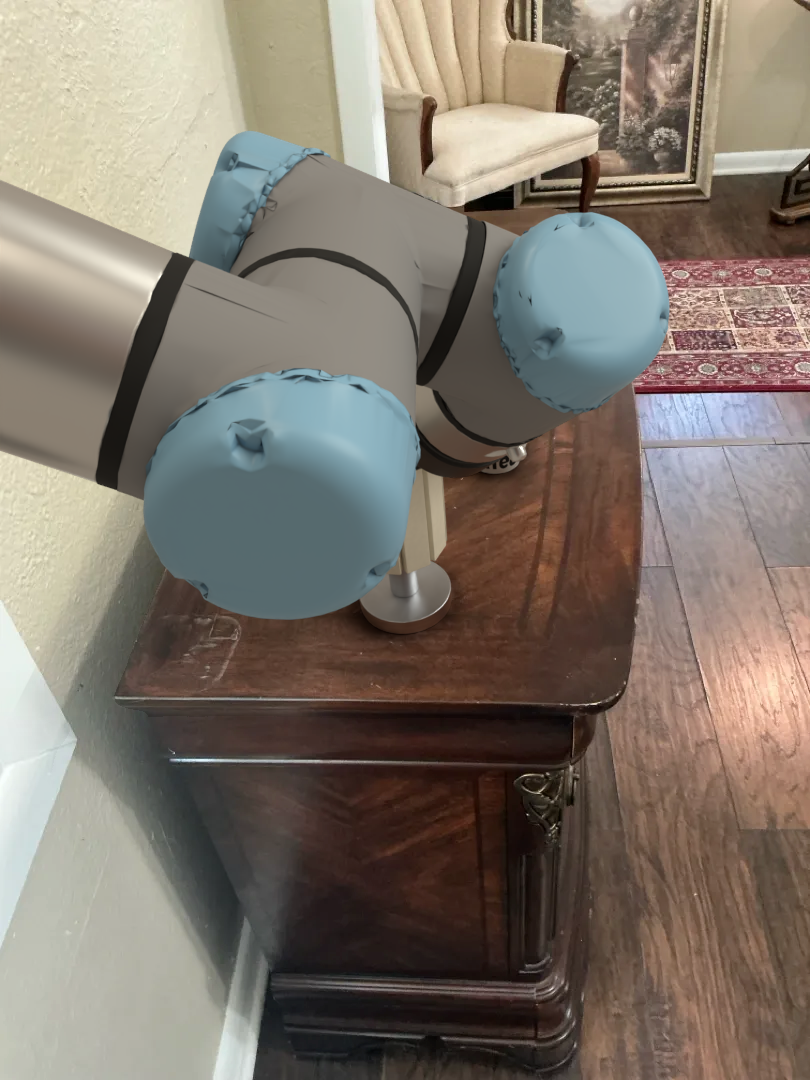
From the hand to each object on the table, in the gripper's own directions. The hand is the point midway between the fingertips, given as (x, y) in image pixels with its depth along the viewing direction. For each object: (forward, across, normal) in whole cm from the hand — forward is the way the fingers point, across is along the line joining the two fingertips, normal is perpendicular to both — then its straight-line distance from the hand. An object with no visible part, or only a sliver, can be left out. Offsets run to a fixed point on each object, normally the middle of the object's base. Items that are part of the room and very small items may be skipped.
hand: (373, 479), depth 70 cm
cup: (+15, +18, -1) cm, 23 cm away
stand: (+5, 0, -10) cm, 12 cm away
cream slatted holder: (+1, 0, -5) cm, 5 cm away
